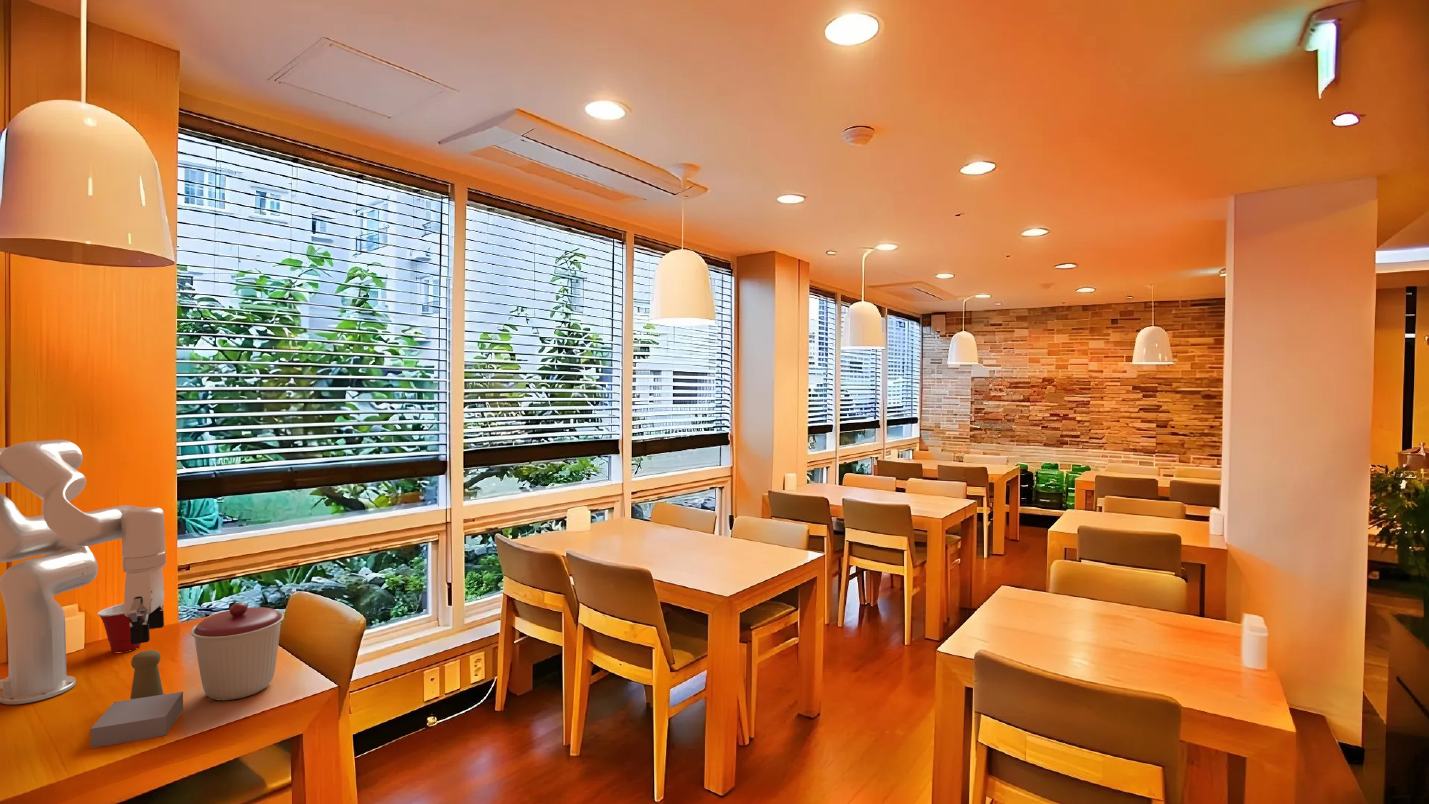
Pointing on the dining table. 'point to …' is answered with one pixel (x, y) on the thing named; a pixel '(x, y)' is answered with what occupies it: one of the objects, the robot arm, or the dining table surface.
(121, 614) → the plastic cup
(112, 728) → the block
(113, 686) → the dining table surface
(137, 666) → the cork
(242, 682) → the canister
